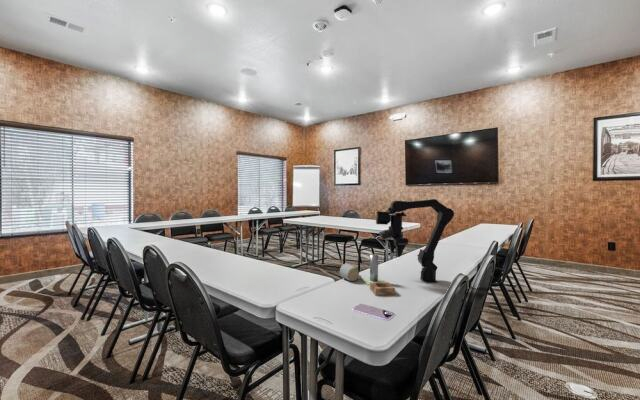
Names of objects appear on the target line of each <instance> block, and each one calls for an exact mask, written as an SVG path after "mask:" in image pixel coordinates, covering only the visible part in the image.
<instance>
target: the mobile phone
mask: <svg viewBox="0 0 640 400" xmlns="http://www.w3.org/2000/svg"><path fill="white" fill-rule="evenodd" d="M351 311H353V312H356V313H359V314H363V315H366V316H369V317H372V318H375V319H378V320H379V319H380V320H382V321H390V320H391V319H392V318H393V317H394V316H395V315H396V314H395V312H394V311H389V310H386V309H382V308H378V307H376V306H371V305H368V304H364V303H359V304H358V305H355V307H353V308H352V309H351Z"/></svg>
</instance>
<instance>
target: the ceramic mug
mask: <svg viewBox="0 0 640 400" xmlns="http://www.w3.org/2000/svg"><path fill="white" fill-rule="evenodd" d="M339 275H340V276H341V278H343V279H345V280H348V281H349V282H355V281H356V280H358V279H359V280H360V279H361V280H362V278H363V277H362V275H361V274H360V271H359V270H358V268H357V267H356V266H354V265H352V264H350V263H348V262H346V263H344V264H342V265H341V266H340V268H339Z"/></svg>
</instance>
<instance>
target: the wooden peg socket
mask: <svg viewBox="0 0 640 400" xmlns="http://www.w3.org/2000/svg"><path fill="white" fill-rule="evenodd" d="M369 290H370V291H371V292H372V293H373V294H374V296H394V295H395V293H396V291H395V290H396V288H395V287H394V286H393V285H392V284H391V283H390V282H389V281H384V282H370V285H369Z"/></svg>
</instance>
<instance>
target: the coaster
mask: <svg viewBox="0 0 640 400" xmlns="http://www.w3.org/2000/svg"><path fill="white" fill-rule="evenodd" d="M361 280H362V281H363V283H364V284H366V285H367V286H368V285H369V286H370V282H373V281H370V277H361ZM377 282H385V280H383V279H382V278H381V277H380V276H378V281H377Z"/></svg>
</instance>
